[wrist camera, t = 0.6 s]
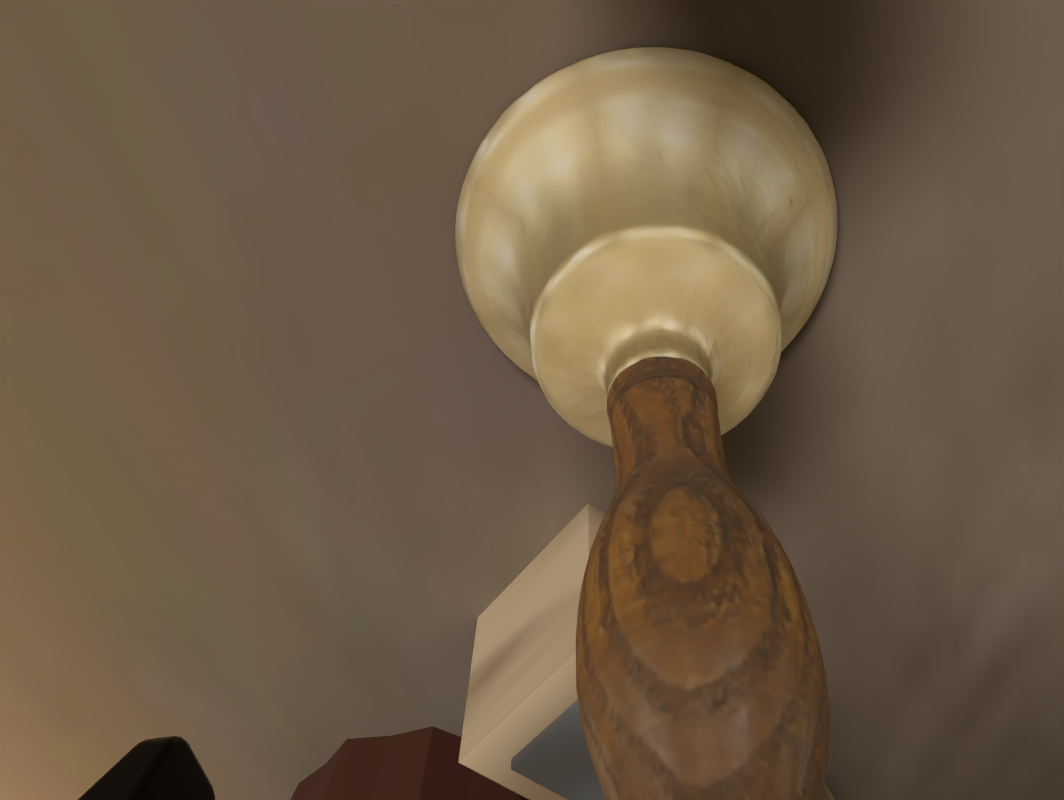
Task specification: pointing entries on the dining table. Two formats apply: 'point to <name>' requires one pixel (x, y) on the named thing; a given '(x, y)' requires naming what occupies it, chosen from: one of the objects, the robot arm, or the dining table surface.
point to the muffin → (401, 771)
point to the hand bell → (666, 395)
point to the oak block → (533, 677)
